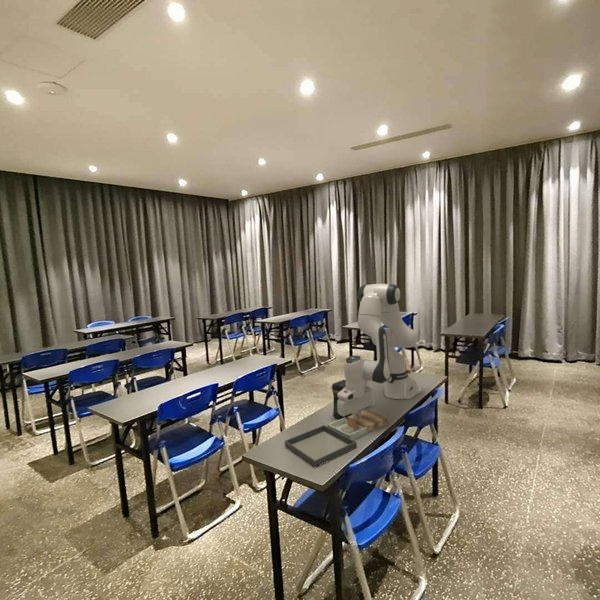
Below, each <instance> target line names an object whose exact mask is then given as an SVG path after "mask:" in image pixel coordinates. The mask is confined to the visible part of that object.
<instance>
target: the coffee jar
mask: <svg viewBox="0 0 600 600" xmlns="http://www.w3.org/2000/svg"><path fill="white" fill-rule="evenodd" d="M345 383H346V379H342V380H340V381H337V382H334V383H332V385H331V392H332V394H333V418H335V419H336V420H340V419H342V418H346V417H348V416H351V415H352V414H349V415H346V416H341V415H339V414H338V410H337V401H338V399H339V398H338V397H337V394H338V393H339V392H340V391H341V390H342V389H343V388H344V387H345ZM346 420H347V418H346Z"/></svg>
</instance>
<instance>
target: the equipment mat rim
mask: <svg viewBox="0 0 600 600" xmlns="http://www.w3.org/2000/svg"><path fill="white" fill-rule="evenodd" d="M322 432H326V433H327V434H329V435H331V436H333V437H336V438H337V439H338V440H340V441H341V442H344V443H346V445H345V446H343V447H340V448H337V450H334V451H332V452H330V453H328V454H326V455H323V456H321V457H319V458H316V459H314V458H312V457H311V456H310V455H308V454H307V453H305V452H304V451H302V450H300V449H299V448H298V447H296V446H294V445H293V444H296V443H299V442H301V441H303V440H305V439H308V438H310V437H313V436H315V435H318V434H319V433H322ZM357 444H358V442H357V441H355V440H352V439H350V438H348V437H346V436H344V435H342V434H340V433H338V432H337V431H335V430H333V429H331V428H329V427H328V425H324V424H323V425H321V426H318V427H315V428H313V429H311V430H309V431H306V432H303V433H301V434H299V435H296V436H293V437H291V438H288V439H286V440H284V447H285V448H287V449H288V450H289V451H291V452H293V453H294V454H295V455H297V456H298V457H300V458H301V459H303V460H304V461H305V462H307V463H308V464H309V465H311V466H312V465H313V466H312V467H314V468H317V467H319V466H321V465H320V464H322V463H324V462H326V461H328V460H330V461H332V460H334V459H336V458H338V457H339V456H340V457H341V456H342V455H345V454H347V453H349V452H350V451H353V450H354V449H357V447H358V445H357ZM337 456H338V457H337ZM335 457H336V458H335ZM333 458H334V459H333ZM331 459H332V460H331ZM328 462H329V461H328ZM326 463H327V462H326ZM324 464H325V463H324ZM318 465H319V466H318ZM322 465H323V464H322ZM316 466H317V467H316Z"/></svg>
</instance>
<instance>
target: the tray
mask: <svg viewBox="0 0 600 600" xmlns="http://www.w3.org/2000/svg"><path fill="white" fill-rule="evenodd" d="M346 425H348V423H347V419H346V418H342V419H336V420H335V421H333V422H330V423H328V424H327V427H329V428H331V429H333V430H335V431H337V432H338V433H340V434H342V435H344V436H346V437H348V438H350V439H352V440H354V441H355V440H357V439H359V438H361V437H363V436H365V435H367V434H368V433H367V427H365V428H364V427H361V426H359V425H357V430H355V431H354V432H352V433H350V434H347V433H345V432H343V431H341V427H343V426H346Z"/></svg>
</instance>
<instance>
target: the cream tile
mask: <svg viewBox="0 0 600 600" xmlns="http://www.w3.org/2000/svg"><path fill="white" fill-rule="evenodd" d="M341 431H343V432H345V433H347V434H350V433H352V432H354V429H353V427H351V426H349V425H346V426H343V427H341Z"/></svg>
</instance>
